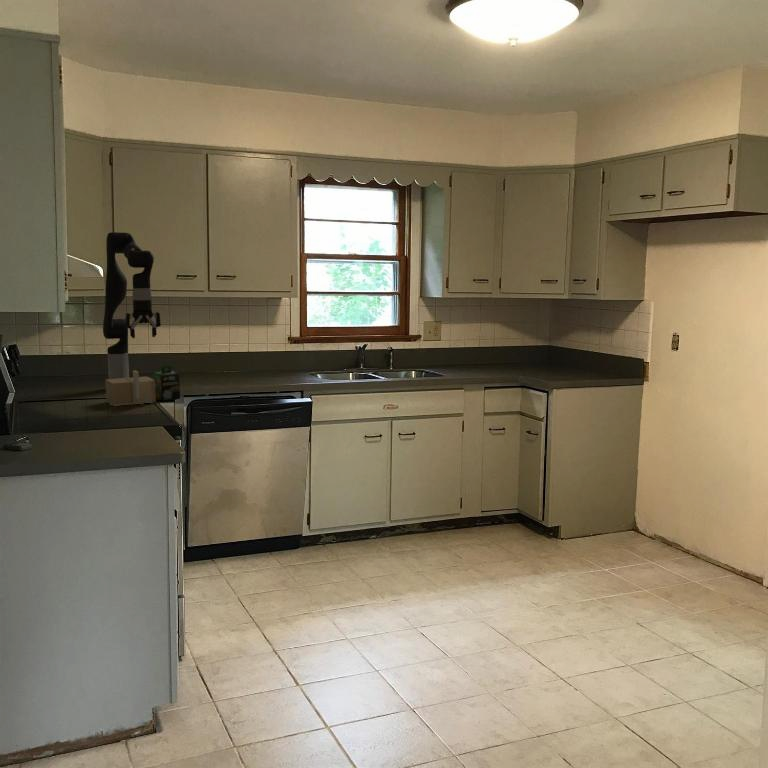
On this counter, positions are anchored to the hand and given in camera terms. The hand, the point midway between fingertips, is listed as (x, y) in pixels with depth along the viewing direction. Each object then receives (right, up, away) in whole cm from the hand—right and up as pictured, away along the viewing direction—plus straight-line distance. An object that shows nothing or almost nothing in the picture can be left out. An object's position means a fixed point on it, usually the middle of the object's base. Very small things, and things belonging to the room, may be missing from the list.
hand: (143, 337), depth 348 cm
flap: (-1, -29, +4) cm, 29 cm away
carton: (-8, -28, +10) cm, 31 cm away
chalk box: (+4, -26, +23) cm, 35 cm away
